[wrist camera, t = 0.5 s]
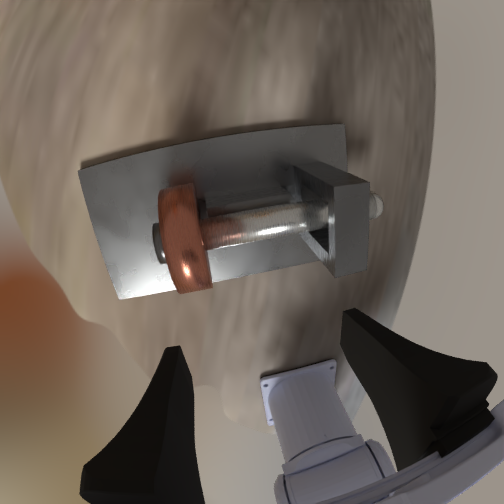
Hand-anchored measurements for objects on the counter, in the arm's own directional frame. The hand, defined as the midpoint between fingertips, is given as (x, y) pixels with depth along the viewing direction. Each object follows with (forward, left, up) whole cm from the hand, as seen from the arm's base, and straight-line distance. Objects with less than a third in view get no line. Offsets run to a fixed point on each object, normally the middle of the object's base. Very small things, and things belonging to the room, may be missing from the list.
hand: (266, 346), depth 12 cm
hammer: (+3, -2, -10) cm, 10 cm away
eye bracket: (+3, 0, -10) cm, 11 cm away
